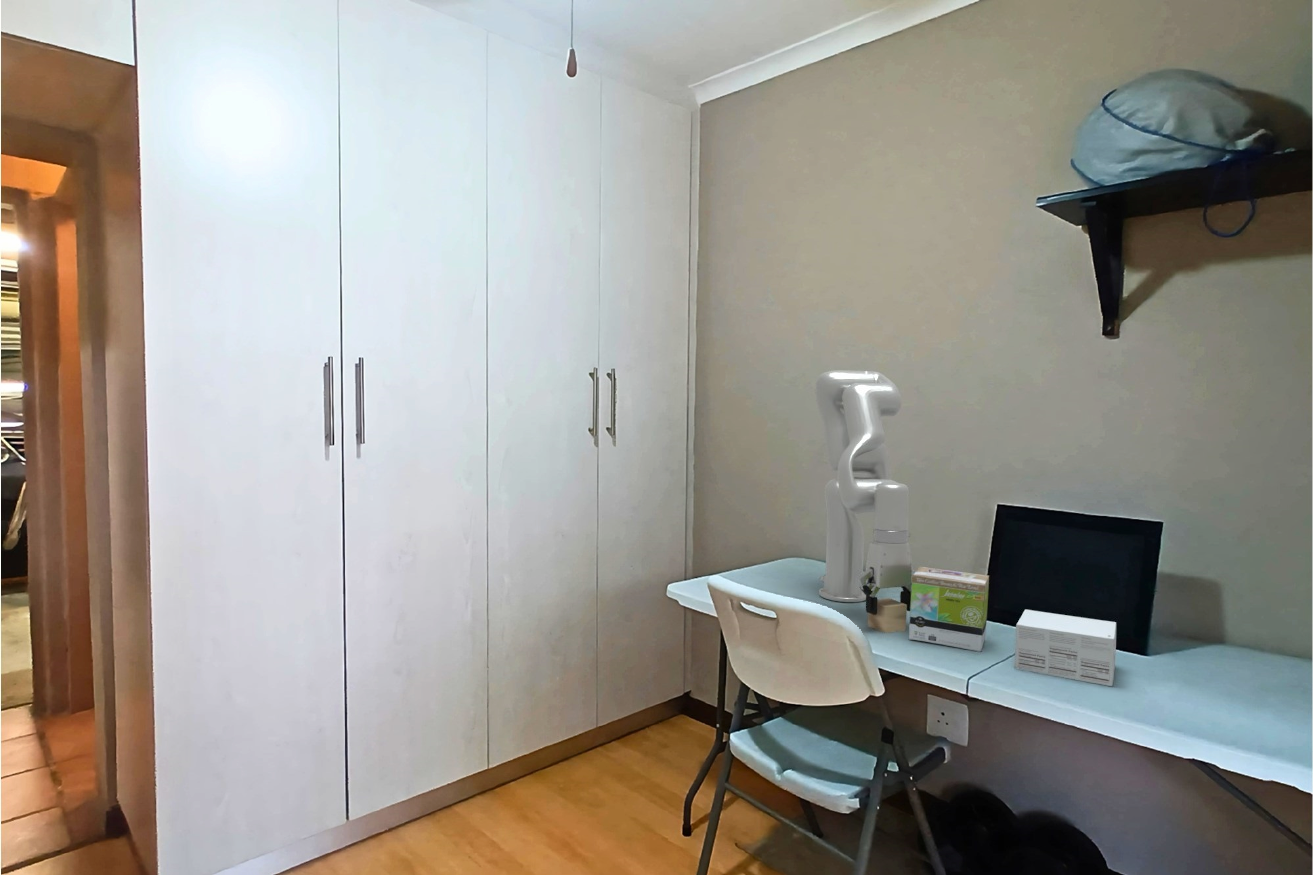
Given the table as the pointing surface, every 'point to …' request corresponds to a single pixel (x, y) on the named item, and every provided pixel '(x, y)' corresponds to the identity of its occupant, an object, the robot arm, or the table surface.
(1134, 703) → the table surface
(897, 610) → the oak block
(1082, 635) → the supplement box
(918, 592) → the tea box
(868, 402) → the robot arm
